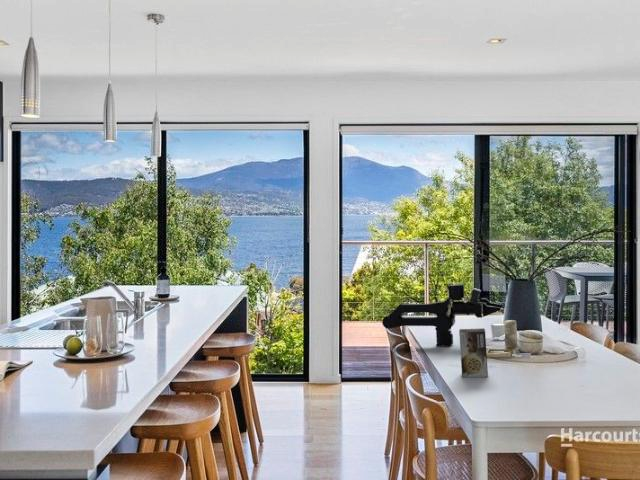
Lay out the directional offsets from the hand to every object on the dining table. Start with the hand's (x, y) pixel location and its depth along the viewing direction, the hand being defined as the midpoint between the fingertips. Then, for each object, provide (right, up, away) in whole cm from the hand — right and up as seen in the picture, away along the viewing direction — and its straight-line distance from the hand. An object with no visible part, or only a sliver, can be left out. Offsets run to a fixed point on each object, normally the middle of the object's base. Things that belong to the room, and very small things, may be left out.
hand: (501, 307), depth 288 cm
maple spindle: (0, -16, -14) cm, 22 cm away
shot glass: (+3, -16, +16) cm, 23 cm away
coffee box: (-23, -19, -51) cm, 60 cm away
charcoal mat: (-5, -17, -17) cm, 24 cm away
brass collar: (-7, -16, -22) cm, 29 cm away
